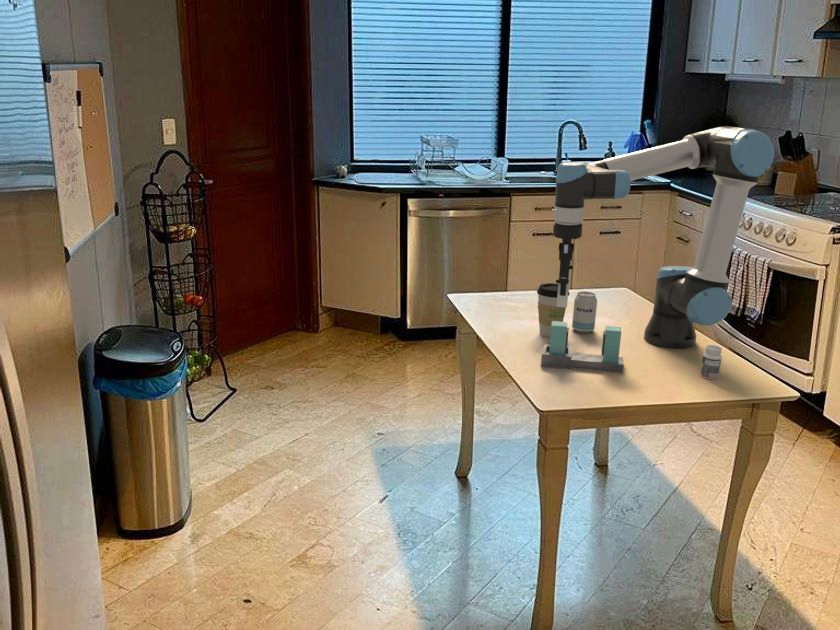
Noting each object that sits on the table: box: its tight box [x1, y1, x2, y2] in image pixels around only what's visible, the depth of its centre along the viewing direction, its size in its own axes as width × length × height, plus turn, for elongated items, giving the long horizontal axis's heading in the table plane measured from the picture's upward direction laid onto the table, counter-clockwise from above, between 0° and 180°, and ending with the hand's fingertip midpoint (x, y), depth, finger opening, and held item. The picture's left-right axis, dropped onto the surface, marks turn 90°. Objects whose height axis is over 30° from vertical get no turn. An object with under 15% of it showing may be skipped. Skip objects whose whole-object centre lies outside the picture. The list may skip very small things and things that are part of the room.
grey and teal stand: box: [540, 325, 625, 374], centre depth 219 cm, size 22×8×11 cm, turn 78°
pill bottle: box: [700, 344, 723, 380], centre depth 214 cm, size 5×5×8 cm
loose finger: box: [549, 321, 570, 355], centre depth 220 cm, size 5×4×9 cm
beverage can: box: [571, 291, 598, 334], centre depth 248 cm, size 7×7×12 cm
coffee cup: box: [536, 282, 570, 338], centre depth 243 cm, size 10×10×15 cm
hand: (562, 299), depth 216 cm, fingers open, 13 cm apart
